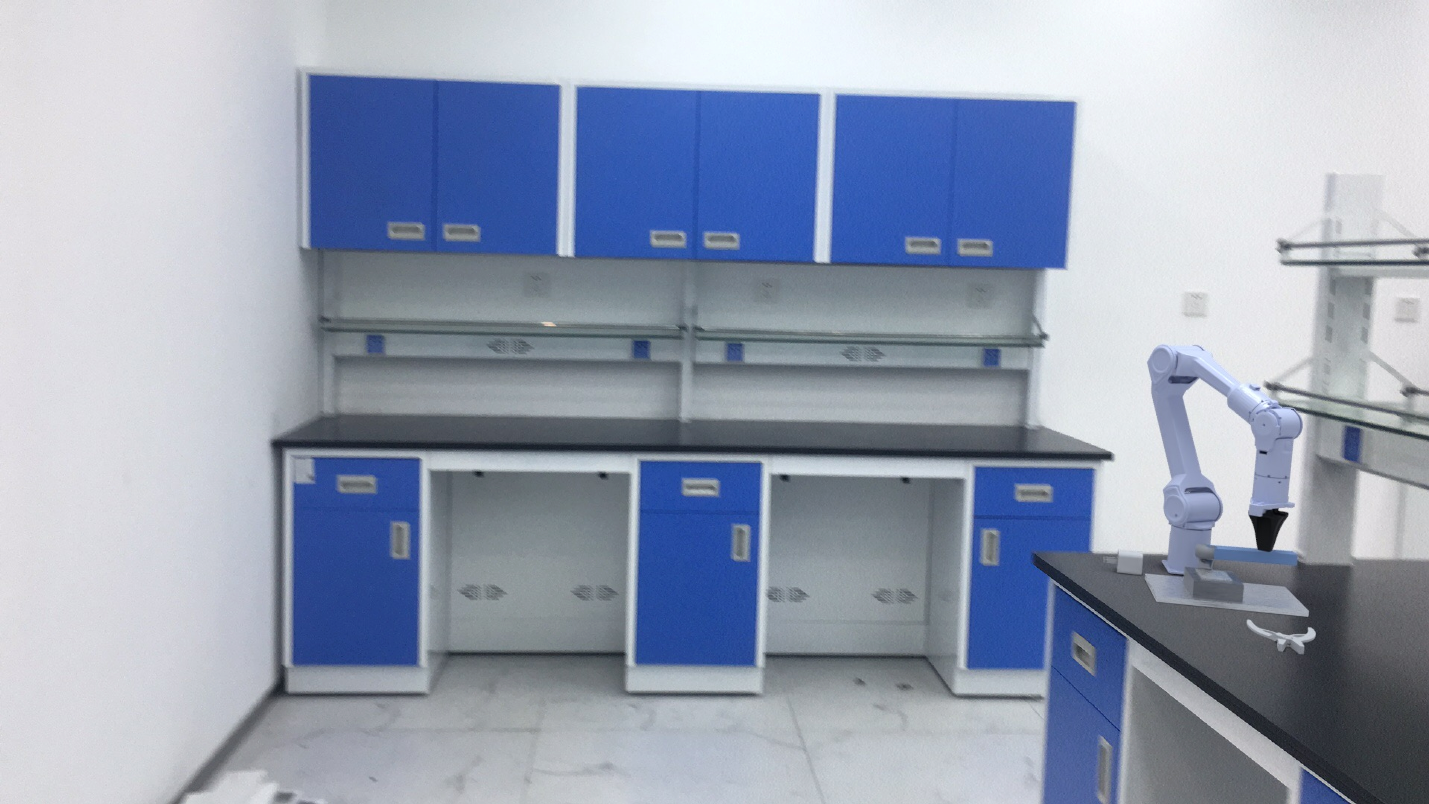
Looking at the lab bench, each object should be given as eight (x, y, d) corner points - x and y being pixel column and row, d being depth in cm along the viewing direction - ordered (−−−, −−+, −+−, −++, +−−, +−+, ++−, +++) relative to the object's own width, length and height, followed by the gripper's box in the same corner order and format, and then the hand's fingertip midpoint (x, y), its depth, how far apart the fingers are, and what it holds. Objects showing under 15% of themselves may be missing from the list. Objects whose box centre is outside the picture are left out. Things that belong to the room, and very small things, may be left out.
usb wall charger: (1141, 576, 210) (1143, 555, 210) (1102, 572, 212) (1104, 551, 212) (1140, 571, 214) (1141, 550, 214) (1102, 567, 216) (1103, 547, 216)
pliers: (1313, 622, 179) (1328, 649, 165) (1312, 632, 179) (1327, 660, 165) (1246, 614, 183) (1255, 640, 169) (1245, 623, 183) (1254, 650, 169)
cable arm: (1197, 558, 202) (1198, 547, 202) (1193, 553, 206) (1194, 543, 205) (1297, 566, 199) (1298, 555, 199) (1290, 561, 203) (1291, 550, 202)
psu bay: (1144, 578, 208) (1146, 552, 207) (1284, 592, 202) (1287, 564, 202) (1156, 601, 192) (1158, 572, 192) (1308, 616, 187) (1311, 587, 186)
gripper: (1282, 483, 189) (1274, 561, 191) (1309, 474, 200) (1301, 549, 201) (1239, 477, 194) (1232, 553, 196) (1267, 469, 204) (1260, 541, 206)
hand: (1264, 550), depth 199 cm, fingers closed
